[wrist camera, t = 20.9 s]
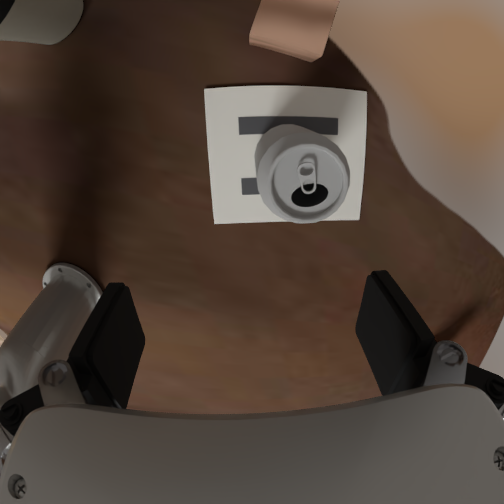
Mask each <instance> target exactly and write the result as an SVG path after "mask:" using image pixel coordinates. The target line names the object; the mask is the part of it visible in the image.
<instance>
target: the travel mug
mask: <svg viewBox="0 0 504 504" xmlns="http://www.w3.org/2000/svg"><path fill="white" fill-rule="evenodd" d="M82 12H83V0H0V40H6V41H20V42H30V43H38V44H46V45H52V44H55V43H58V42H60V41H61V40H63V39H64V38H66V37H67V36H68V35H69V34H70V33H71V32H72V31H73V29H74V28H75V27H76V25H77V24H78V22H79V20H80V18H81V15H82Z"/></svg>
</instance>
